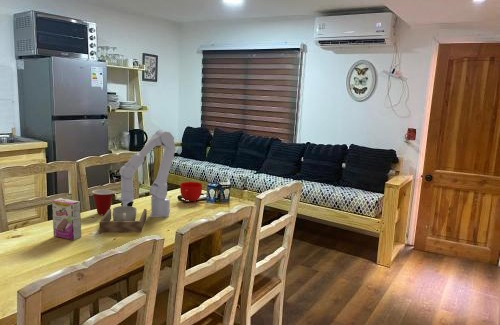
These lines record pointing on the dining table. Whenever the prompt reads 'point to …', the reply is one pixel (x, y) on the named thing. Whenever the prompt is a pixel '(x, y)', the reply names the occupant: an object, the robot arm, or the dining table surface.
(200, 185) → the ceramic cup
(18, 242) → the dining table surface
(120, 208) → the teacup
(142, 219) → the cubby
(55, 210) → the candy bar box
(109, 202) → the plastic cup
